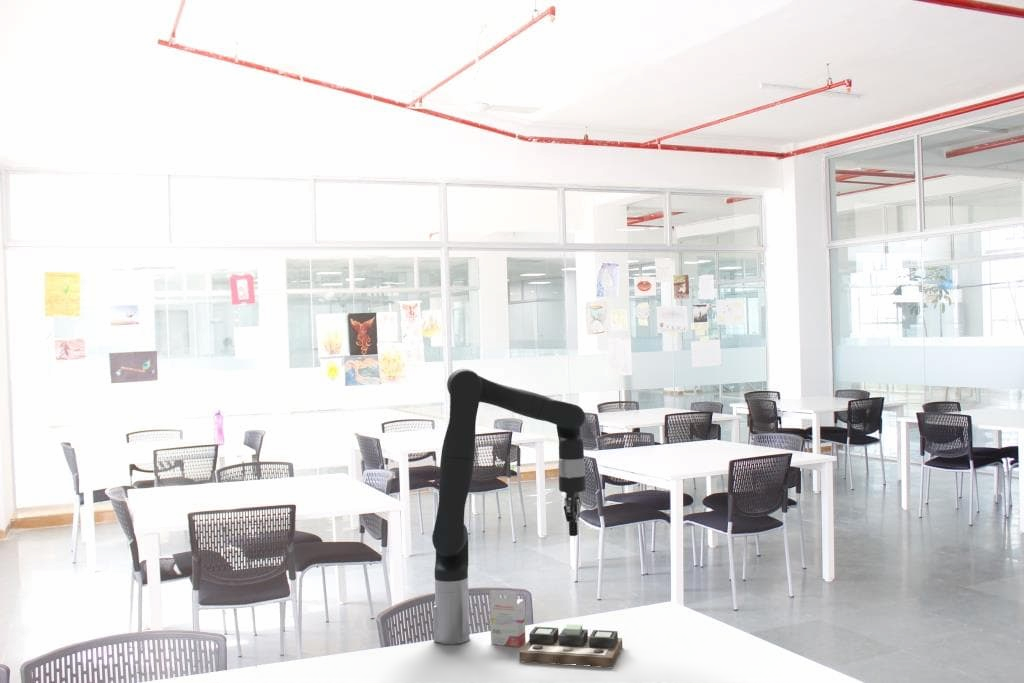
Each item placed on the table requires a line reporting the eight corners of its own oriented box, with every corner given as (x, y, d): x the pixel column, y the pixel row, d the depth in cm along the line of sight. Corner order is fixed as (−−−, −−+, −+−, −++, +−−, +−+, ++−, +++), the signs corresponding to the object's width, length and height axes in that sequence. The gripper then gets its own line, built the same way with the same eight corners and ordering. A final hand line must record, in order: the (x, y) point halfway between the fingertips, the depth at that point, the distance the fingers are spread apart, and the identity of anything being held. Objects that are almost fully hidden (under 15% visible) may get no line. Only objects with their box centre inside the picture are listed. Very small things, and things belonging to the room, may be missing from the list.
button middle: (564, 636, 245) (564, 628, 245) (567, 631, 249) (567, 624, 249) (579, 637, 244) (579, 629, 244) (582, 632, 248) (582, 625, 248)
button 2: (594, 643, 243) (594, 636, 243) (597, 639, 246) (597, 631, 246) (609, 644, 241) (609, 637, 242) (612, 640, 245) (612, 632, 245)
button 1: (535, 640, 247) (534, 632, 247) (538, 635, 251) (538, 628, 251) (549, 641, 246) (549, 633, 246) (553, 636, 250) (553, 629, 250)
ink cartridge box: (526, 641, 255) (524, 588, 255) (519, 647, 251) (518, 592, 251) (497, 639, 258) (496, 585, 259) (490, 644, 254) (488, 590, 254)
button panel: (519, 661, 239) (519, 642, 239) (535, 642, 255) (534, 624, 255) (612, 667, 233) (611, 647, 233) (622, 647, 248) (621, 628, 248)
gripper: (564, 471, 271) (565, 530, 271) (553, 477, 259) (555, 539, 259) (589, 471, 269) (591, 531, 269) (580, 477, 257) (582, 540, 257)
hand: (573, 535), depth 264 cm, fingers closed
